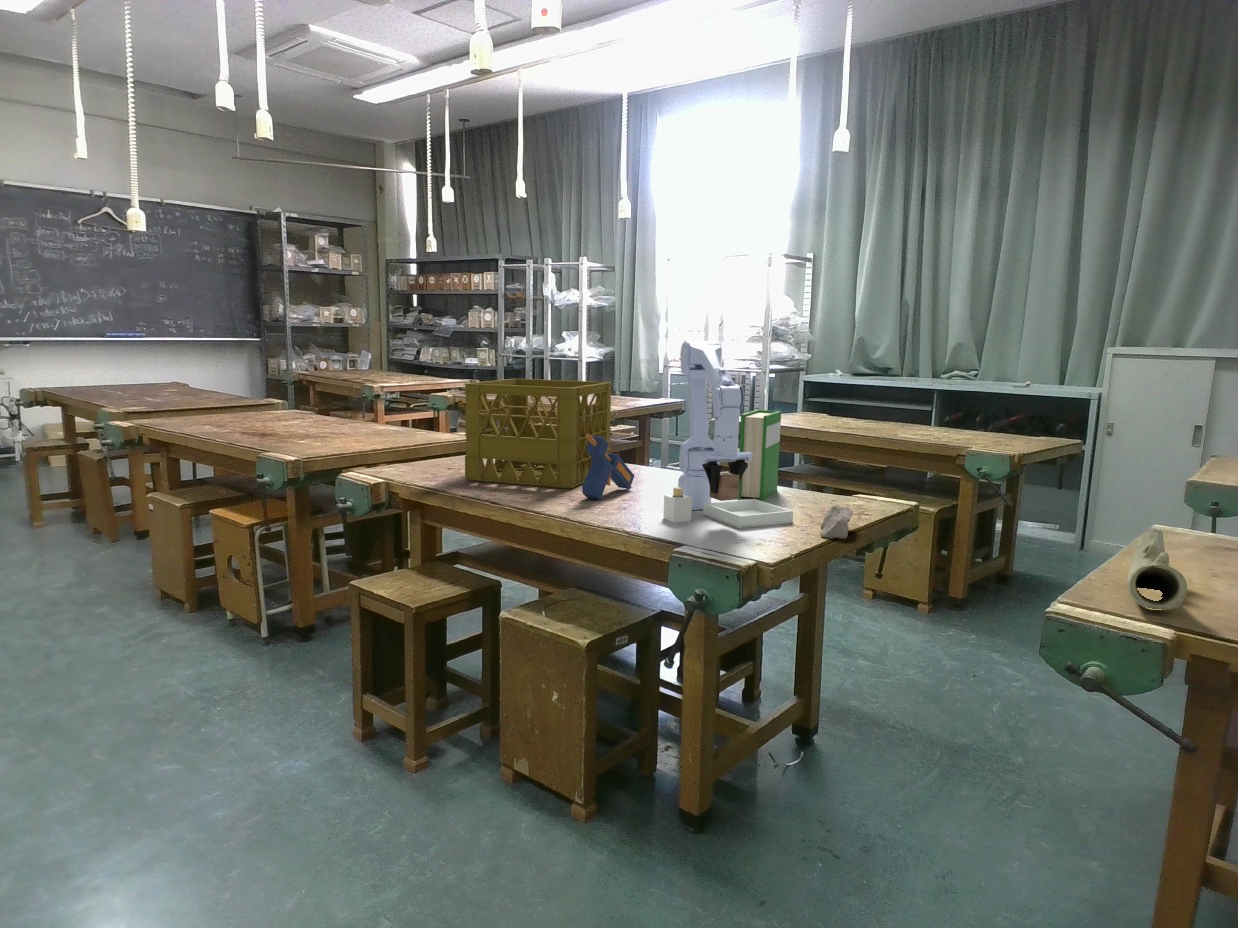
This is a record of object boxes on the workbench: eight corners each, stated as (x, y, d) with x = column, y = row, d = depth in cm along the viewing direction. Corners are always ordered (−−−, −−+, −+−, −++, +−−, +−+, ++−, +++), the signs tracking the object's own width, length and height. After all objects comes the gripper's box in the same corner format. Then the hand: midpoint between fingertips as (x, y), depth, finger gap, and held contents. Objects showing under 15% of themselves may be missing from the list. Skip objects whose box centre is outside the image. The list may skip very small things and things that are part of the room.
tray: (703, 514, 203) (703, 503, 203) (753, 509, 210) (754, 498, 210) (739, 528, 189) (740, 516, 189) (792, 522, 196) (793, 511, 196)
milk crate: (464, 481, 244) (463, 383, 239) (514, 464, 277) (514, 378, 272) (572, 490, 233) (573, 388, 228) (610, 471, 266) (612, 382, 261)
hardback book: (762, 501, 222) (767, 416, 218) (737, 498, 225) (741, 414, 221) (777, 490, 238) (781, 411, 234) (752, 488, 241) (756, 409, 237)
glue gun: (623, 526, 233) (639, 481, 238) (586, 478, 207) (604, 429, 213) (605, 522, 235) (621, 478, 241) (566, 475, 210) (585, 427, 216)
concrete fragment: (815, 538, 183) (816, 512, 182) (826, 525, 195) (827, 501, 194) (846, 541, 180) (848, 515, 179) (855, 528, 192) (857, 504, 191)
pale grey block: (663, 518, 198) (664, 487, 197) (680, 516, 201) (681, 485, 199) (673, 522, 194) (674, 490, 193) (691, 521, 196) (692, 489, 195)
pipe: (1185, 620, 132) (1193, 562, 130) (1126, 612, 135) (1133, 555, 134) (1157, 576, 157) (1163, 527, 155) (1108, 570, 160) (1114, 522, 159)
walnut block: (709, 496, 192) (710, 472, 191) (726, 495, 194) (727, 471, 193) (720, 500, 188) (721, 475, 187) (738, 499, 190) (739, 474, 189)
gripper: (709, 439, 182) (707, 497, 184) (761, 436, 188) (758, 492, 191) (693, 435, 188) (691, 491, 191) (743, 433, 195) (741, 487, 197)
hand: (723, 491), depth 191 cm, fingers closed on walnut block, 5 cm apart
